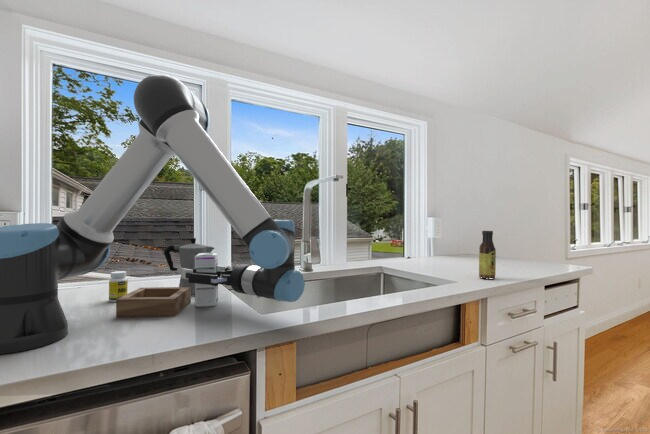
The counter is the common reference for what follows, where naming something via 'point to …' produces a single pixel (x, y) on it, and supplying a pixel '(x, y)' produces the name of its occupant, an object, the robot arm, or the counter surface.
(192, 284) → the coffeepot
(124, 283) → the supplement bottle
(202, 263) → the syrup box
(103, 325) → the counter surface
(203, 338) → the counter surface
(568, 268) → the counter surface
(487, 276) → the sauce bottle
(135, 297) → the open brown wooden box
